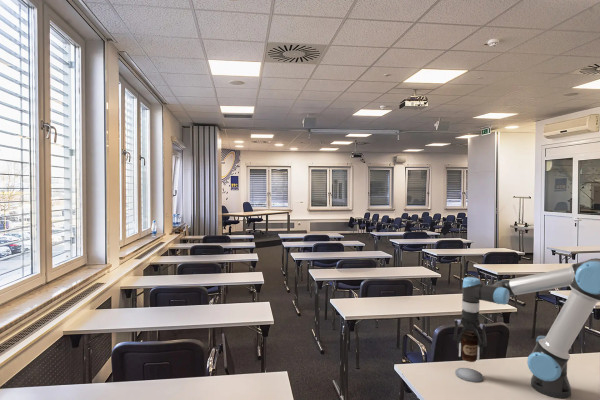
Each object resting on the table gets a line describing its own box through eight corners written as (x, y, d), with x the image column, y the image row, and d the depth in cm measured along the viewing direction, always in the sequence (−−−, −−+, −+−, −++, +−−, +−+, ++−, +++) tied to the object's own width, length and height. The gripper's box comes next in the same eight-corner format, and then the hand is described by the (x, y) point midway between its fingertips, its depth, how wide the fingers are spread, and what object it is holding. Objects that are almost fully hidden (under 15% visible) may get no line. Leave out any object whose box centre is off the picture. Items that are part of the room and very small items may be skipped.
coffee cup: (482, 364, 172) (483, 336, 171) (464, 363, 172) (465, 336, 172) (473, 355, 180) (474, 329, 180) (456, 355, 181) (457, 329, 180)
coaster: (483, 373, 178) (483, 371, 178) (482, 384, 168) (482, 382, 168) (457, 367, 184) (457, 365, 184) (453, 377, 174) (453, 375, 174)
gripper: (494, 311, 174) (493, 359, 174) (449, 304, 184) (447, 349, 184) (494, 316, 167) (492, 365, 168) (446, 308, 178) (445, 355, 178)
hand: (469, 357), depth 176 cm, fingers closed on coffee cup, 7 cm apart
